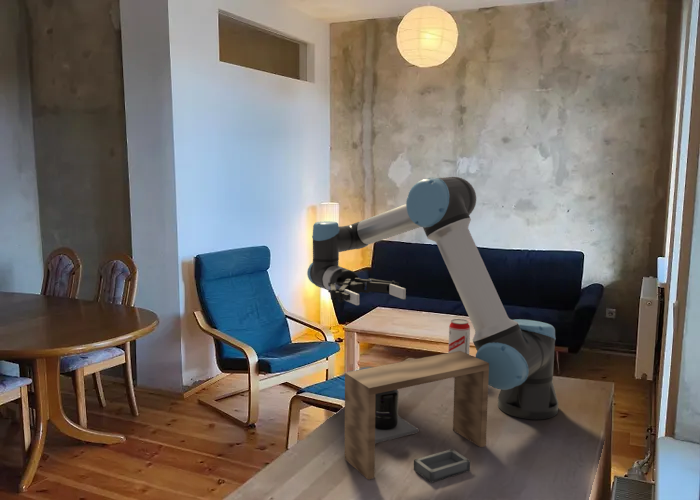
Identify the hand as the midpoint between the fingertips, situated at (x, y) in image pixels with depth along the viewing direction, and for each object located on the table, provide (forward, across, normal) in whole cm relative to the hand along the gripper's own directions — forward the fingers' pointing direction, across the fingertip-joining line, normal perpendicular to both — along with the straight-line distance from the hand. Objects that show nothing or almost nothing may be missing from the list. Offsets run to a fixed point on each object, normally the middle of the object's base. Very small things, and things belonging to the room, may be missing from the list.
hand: (381, 296), depth 156 cm
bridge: (+23, +5, -30) cm, 38 cm away
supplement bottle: (+9, +5, -29) cm, 31 cm away
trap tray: (+32, +5, -30) cm, 44 cm away
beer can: (-13, -36, -30) cm, 48 cm away
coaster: (+9, +5, -30) cm, 32 cm away
